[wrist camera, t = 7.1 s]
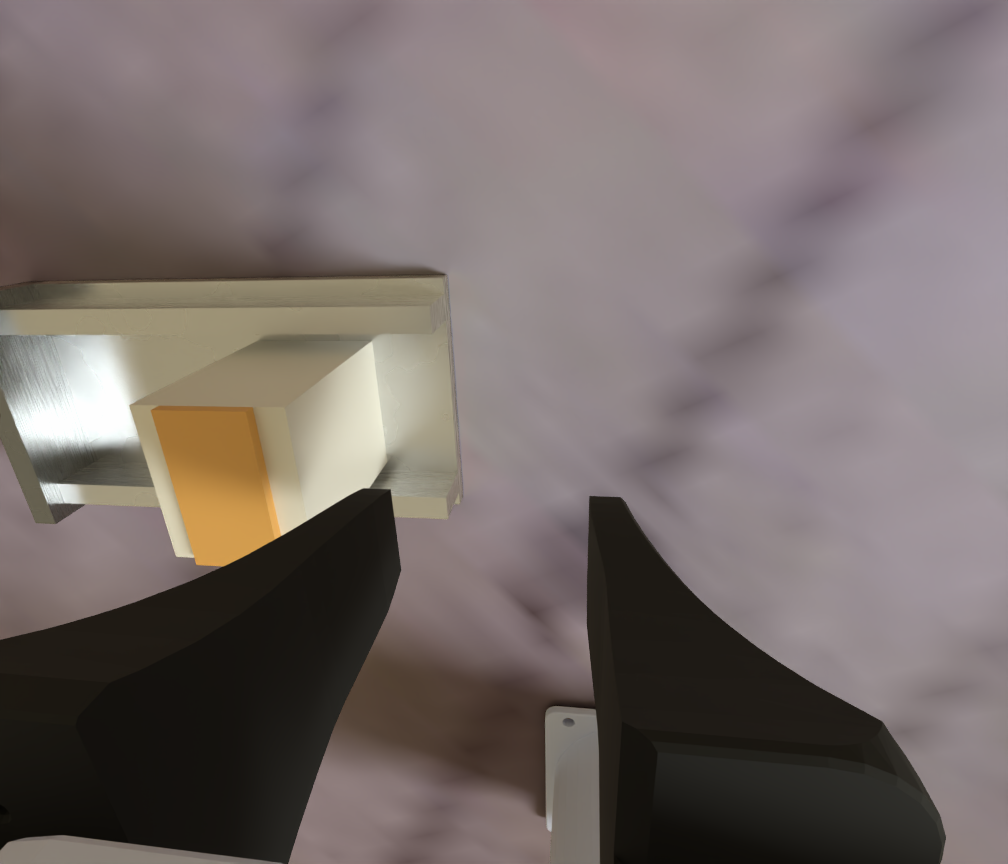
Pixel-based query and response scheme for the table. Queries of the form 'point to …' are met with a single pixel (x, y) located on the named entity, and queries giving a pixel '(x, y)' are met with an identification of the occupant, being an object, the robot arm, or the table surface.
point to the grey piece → (196, 344)
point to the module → (261, 443)
